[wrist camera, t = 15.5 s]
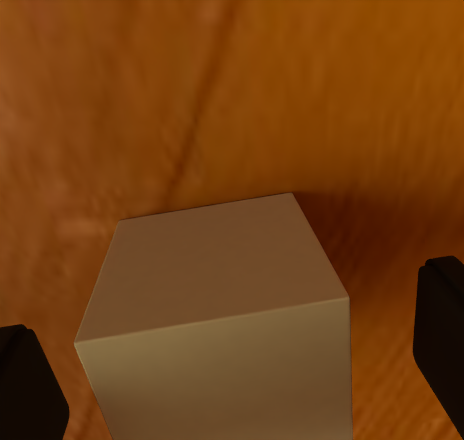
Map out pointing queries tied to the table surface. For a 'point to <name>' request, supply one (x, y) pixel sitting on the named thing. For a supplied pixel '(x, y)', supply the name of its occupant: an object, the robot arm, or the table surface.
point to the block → (220, 328)
